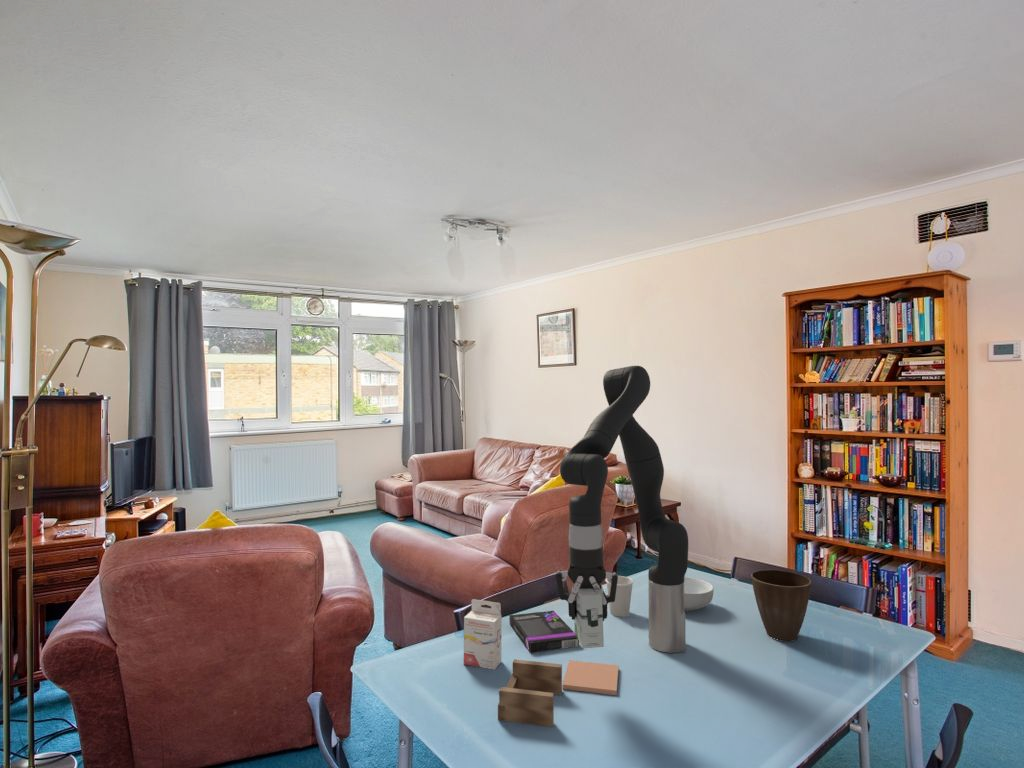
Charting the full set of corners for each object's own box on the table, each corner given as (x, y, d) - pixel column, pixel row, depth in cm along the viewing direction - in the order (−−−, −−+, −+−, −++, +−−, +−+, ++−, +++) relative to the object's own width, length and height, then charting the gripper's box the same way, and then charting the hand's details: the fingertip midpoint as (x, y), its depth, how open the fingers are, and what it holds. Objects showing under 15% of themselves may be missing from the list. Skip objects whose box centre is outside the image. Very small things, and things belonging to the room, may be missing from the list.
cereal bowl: (721, 617, 169) (721, 593, 169) (665, 617, 169) (665, 593, 169) (703, 596, 186) (703, 575, 186) (652, 596, 186) (652, 575, 186)
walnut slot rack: (561, 691, 127) (561, 664, 127) (552, 727, 113) (552, 696, 113) (512, 685, 129) (512, 659, 130) (497, 720, 116) (497, 690, 116)
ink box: (573, 632, 130) (572, 580, 130) (594, 630, 130) (593, 579, 130) (582, 649, 121) (580, 593, 121) (604, 647, 122) (603, 592, 122)
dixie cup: (612, 605, 178) (612, 573, 178) (637, 611, 173) (637, 578, 173) (600, 614, 171) (600, 581, 172) (626, 620, 166) (626, 586, 167)
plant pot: (752, 642, 152) (751, 582, 152) (751, 621, 165) (750, 566, 166) (814, 651, 146) (814, 589, 146) (808, 629, 160) (807, 572, 160)
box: (579, 650, 150) (553, 620, 168) (579, 637, 150) (554, 608, 168) (529, 656, 146) (508, 624, 164) (529, 642, 146) (509, 612, 164)
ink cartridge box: (462, 665, 139) (462, 604, 140) (470, 656, 144) (470, 598, 144) (495, 670, 137) (495, 609, 137) (502, 661, 141) (502, 602, 142)
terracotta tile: (618, 669, 137) (618, 665, 137) (616, 695, 125) (616, 690, 125) (569, 664, 140) (569, 660, 140) (562, 689, 128) (562, 684, 128)
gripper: (619, 539, 128) (621, 614, 128) (555, 538, 131) (557, 610, 131) (618, 549, 121) (620, 628, 121) (551, 547, 124) (553, 624, 124)
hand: (588, 618), depth 126 cm, fingers closed on ink box, 5 cm apart
